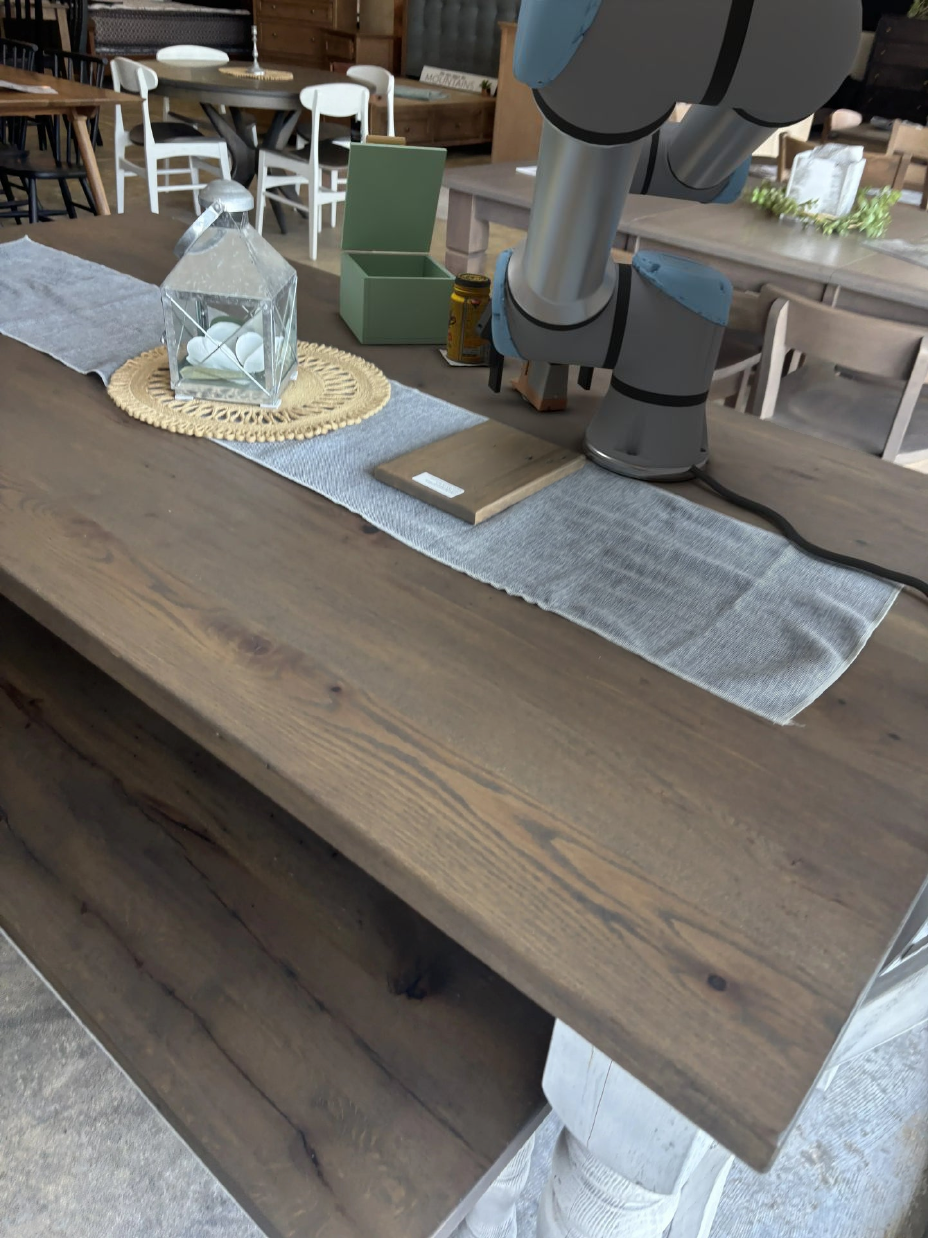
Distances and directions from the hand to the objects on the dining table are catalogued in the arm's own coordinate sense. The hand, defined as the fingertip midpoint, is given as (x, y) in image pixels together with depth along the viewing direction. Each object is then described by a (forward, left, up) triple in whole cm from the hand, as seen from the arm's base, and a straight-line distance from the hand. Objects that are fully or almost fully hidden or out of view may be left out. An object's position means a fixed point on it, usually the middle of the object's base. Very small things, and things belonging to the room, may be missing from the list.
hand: (539, 388), depth 126 cm
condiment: (+17, +4, -2) cm, 17 cm away
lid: (+37, +12, +17) cm, 42 cm away
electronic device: (0, 0, -2) cm, 2 cm away
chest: (+32, +12, -2) cm, 34 cm away
